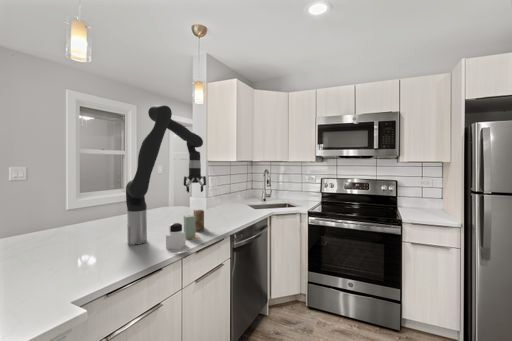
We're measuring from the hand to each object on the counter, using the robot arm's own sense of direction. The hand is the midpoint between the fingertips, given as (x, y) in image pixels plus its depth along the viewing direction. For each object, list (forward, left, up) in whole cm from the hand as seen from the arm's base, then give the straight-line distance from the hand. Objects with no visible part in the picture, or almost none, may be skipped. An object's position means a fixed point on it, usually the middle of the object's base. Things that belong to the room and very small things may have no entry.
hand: (194, 192), depth 168 cm
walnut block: (-1, -11, -22) cm, 25 cm away
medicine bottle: (-20, -35, -23) cm, 47 cm away
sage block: (-10, -23, -22) cm, 34 cm away
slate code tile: (-1, -11, -23) cm, 25 cm away
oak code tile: (-10, -23, -23) cm, 34 cm away
